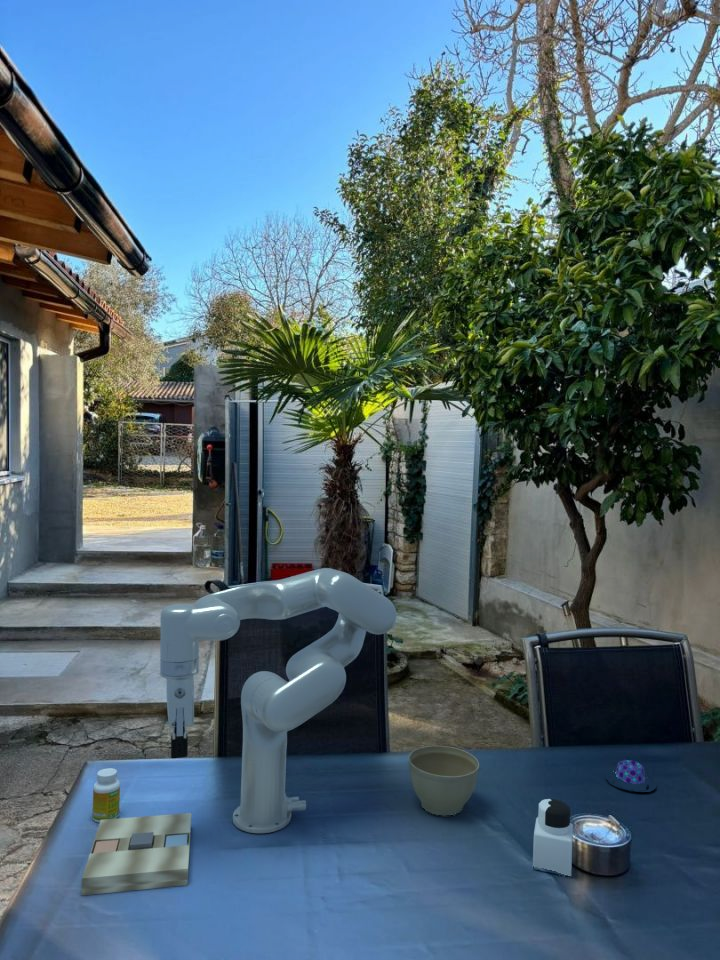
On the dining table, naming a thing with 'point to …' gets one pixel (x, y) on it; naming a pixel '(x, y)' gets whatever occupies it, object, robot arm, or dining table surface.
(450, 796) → the planter bowl
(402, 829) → the dining table surface
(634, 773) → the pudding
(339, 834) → the dining table surface
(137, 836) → the key charcoal
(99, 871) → the keypad
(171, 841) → the key blue
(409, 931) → the dining table surface
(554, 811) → the medicine bottle
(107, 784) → the supplement bottle
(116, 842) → the key pink
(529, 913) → the dining table surface
